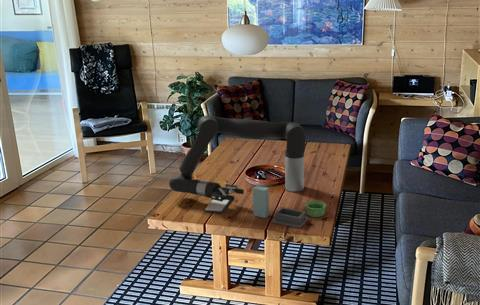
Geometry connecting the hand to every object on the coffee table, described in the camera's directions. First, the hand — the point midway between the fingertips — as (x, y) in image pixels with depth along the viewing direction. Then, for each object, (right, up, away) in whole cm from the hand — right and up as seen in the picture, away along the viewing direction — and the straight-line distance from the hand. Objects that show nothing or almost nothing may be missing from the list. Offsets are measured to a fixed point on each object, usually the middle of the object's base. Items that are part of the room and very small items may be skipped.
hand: (238, 195), depth 234 cm
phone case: (-10, -6, +9) cm, 14 cm away
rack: (+22, -10, -9) cm, 26 cm away
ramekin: (+34, -8, -3) cm, 35 cm away
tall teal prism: (+10, -9, -3) cm, 14 cm away
